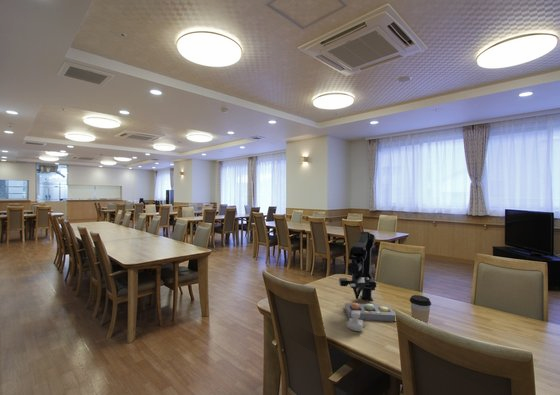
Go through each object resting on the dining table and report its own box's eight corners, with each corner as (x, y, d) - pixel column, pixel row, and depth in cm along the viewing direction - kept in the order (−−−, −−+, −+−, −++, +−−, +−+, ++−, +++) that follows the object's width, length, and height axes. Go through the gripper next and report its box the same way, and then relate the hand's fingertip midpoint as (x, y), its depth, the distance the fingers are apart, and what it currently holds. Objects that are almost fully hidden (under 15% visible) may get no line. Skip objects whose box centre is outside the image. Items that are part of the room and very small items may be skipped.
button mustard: (378, 312, 152) (378, 306, 152) (386, 312, 152) (387, 306, 152) (380, 316, 148) (381, 309, 148) (389, 316, 148) (389, 310, 148)
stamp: (365, 328, 135) (366, 310, 135) (364, 334, 128) (365, 316, 128) (346, 324, 138) (347, 307, 138) (344, 330, 132) (345, 312, 132)
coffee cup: (433, 335, 130) (434, 302, 129) (411, 332, 131) (412, 300, 131) (426, 325, 139) (427, 295, 139) (406, 323, 141) (407, 293, 141)
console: (344, 308, 158) (345, 302, 158) (388, 310, 156) (388, 304, 156) (348, 318, 145) (349, 312, 145) (396, 321, 143) (397, 314, 143)
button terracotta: (350, 308, 153) (350, 302, 153) (358, 309, 153) (358, 303, 153) (352, 312, 149) (352, 305, 149) (360, 312, 149) (360, 306, 149)
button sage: (364, 309, 153) (364, 303, 153) (372, 310, 152) (373, 303, 152) (366, 313, 148) (366, 306, 148) (374, 313, 148) (375, 307, 148)
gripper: (342, 272, 143) (341, 303, 143) (380, 274, 142) (379, 305, 142) (339, 267, 154) (338, 295, 154) (373, 268, 153) (372, 297, 153)
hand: (356, 298), depth 151 cm, fingers closed
